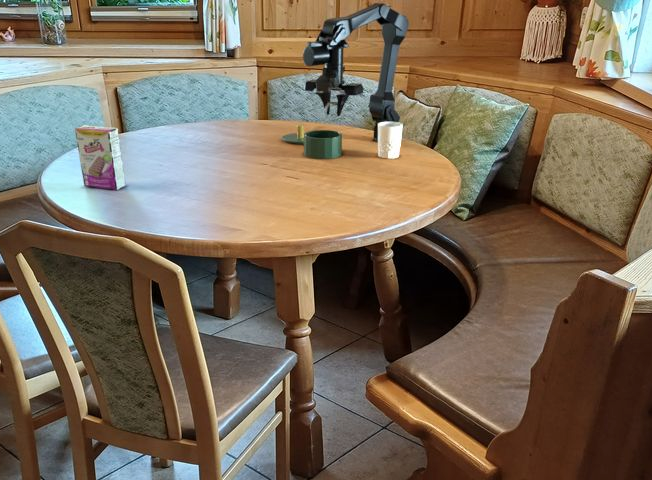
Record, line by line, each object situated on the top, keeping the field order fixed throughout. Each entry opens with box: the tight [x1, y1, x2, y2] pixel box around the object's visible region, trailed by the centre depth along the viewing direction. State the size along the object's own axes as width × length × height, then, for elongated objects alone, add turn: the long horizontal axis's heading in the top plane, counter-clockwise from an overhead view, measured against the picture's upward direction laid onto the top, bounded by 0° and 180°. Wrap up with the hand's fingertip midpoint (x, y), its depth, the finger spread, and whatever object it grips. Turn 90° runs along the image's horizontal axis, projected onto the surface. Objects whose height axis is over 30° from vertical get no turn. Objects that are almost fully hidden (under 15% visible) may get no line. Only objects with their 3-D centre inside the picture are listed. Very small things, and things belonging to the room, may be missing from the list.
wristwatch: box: [323, 101, 344, 120], centre depth 236 cm, size 6×3×5 cm, turn 113°
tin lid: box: [281, 124, 306, 145], centre depth 253 cm, size 13×13×5 cm
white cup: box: [377, 121, 404, 159], centre depth 233 cm, size 8×8×10 cm
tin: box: [303, 129, 343, 160], centre depth 236 cm, size 12×12×6 cm
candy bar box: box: [74, 124, 126, 191], centre depth 204 cm, size 11×5×16 cm, turn 71°
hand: (333, 115), depth 236 cm, fingers closed on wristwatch, 3 cm apart
